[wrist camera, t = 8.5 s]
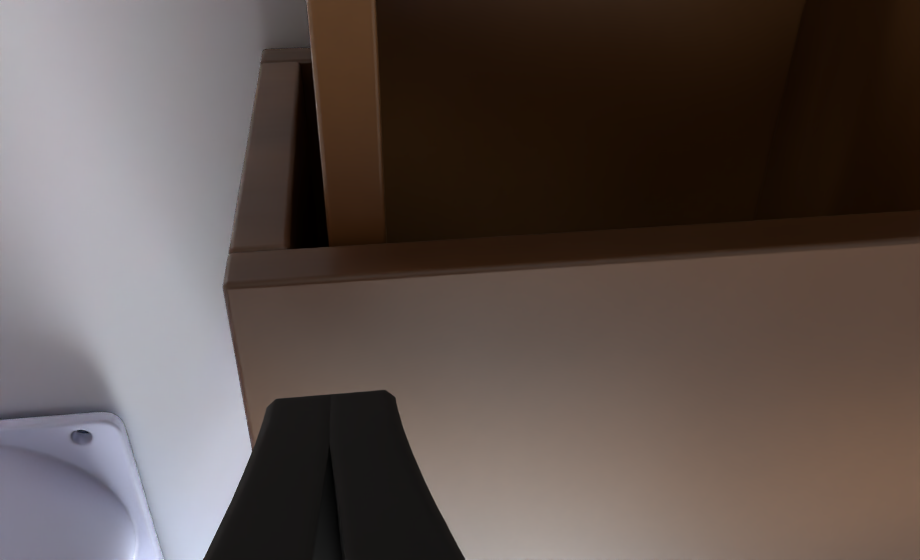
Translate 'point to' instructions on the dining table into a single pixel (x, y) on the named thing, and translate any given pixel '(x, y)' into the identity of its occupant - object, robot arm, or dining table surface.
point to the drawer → (610, 113)
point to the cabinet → (599, 365)
